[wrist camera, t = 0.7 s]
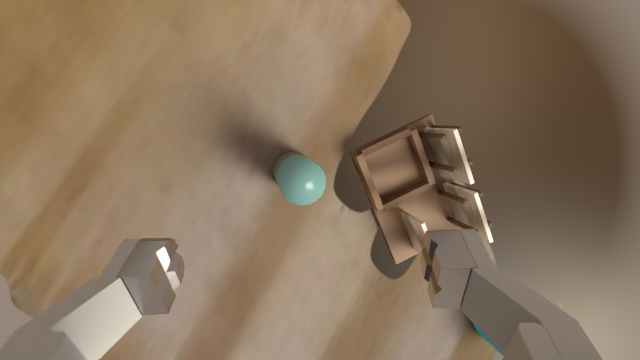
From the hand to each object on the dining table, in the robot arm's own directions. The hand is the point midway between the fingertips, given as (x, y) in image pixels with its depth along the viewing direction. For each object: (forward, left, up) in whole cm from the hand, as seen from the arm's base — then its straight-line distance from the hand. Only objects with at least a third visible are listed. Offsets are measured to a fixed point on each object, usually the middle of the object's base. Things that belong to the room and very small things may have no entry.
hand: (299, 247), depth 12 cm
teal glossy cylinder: (+5, +3, -41) cm, 41 cm away
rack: (+16, +19, -41) cm, 48 cm away
